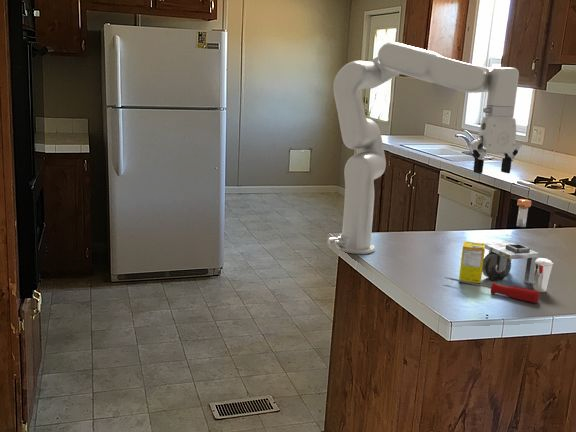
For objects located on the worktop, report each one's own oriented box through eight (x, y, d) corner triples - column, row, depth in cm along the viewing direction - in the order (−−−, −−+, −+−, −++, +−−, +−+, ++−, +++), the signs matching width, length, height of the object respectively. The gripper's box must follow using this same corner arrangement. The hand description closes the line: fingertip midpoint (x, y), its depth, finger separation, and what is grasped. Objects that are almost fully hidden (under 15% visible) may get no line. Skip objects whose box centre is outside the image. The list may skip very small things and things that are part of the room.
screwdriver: (445, 281, 171) (446, 269, 170) (538, 301, 159) (540, 289, 158) (441, 285, 168) (443, 273, 167) (536, 305, 156) (538, 293, 155)
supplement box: (480, 279, 174) (485, 243, 171) (480, 286, 168) (485, 248, 165) (459, 276, 175) (463, 240, 173) (458, 283, 170) (462, 246, 167)
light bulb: (520, 227, 168) (524, 202, 167) (511, 224, 172) (515, 199, 170) (530, 227, 170) (534, 201, 168) (521, 224, 173) (525, 199, 171)
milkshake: (550, 295, 164) (555, 260, 161) (529, 290, 166) (534, 256, 164) (552, 290, 168) (558, 256, 165) (532, 286, 170) (537, 252, 168)
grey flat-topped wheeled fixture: (497, 287, 168) (501, 252, 165) (470, 273, 179) (474, 240, 176) (533, 283, 172) (539, 249, 170) (505, 270, 183) (510, 238, 181)
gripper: (482, 113, 162) (475, 175, 166) (533, 114, 168) (524, 174, 172) (465, 110, 169) (458, 170, 173) (515, 112, 175) (507, 170, 179)
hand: (491, 172), depth 172 cm, fingers open, 9 cm apart
